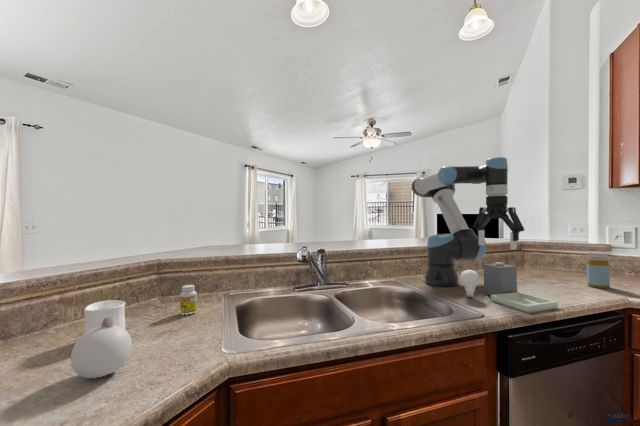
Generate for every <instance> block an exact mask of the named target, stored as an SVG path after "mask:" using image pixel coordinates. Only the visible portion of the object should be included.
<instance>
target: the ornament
mask: <svg viewBox="0 0 640 426" xmlns="http://www.w3.org/2000/svg"><path fill="white" fill-rule="evenodd" d="M132 343H133V341H132V338H131V335H130V333H129V331H128V330H126V328H125V329H124V328H122V327H120V326H116V325H112V321H111V318H110V317H106V318H104V319H103V322H102V326H99V327H96V328H94V329H91V330H90V331H88V332H86V333H85V334H84V333H83V335H81V336H80V337H79V338H78V339H77V341H76V342H75V344H74V346H73V348H72V350H71V354H70V364H71V367H72V369H73V371H74V372H75V374H77V375H79V376H80V377H82V378H85V379H91V378H94V379H96V378H95V377H100V376H104V375H107V374H109V373H112V372H113V373H115V372H116V370H117V371H118V370H119V369H121V368H122V367H123V365H125V363H126V362H127V360H128V359H129V358H130V354H131V351H132V346H133V344H132ZM114 371H115V372H114ZM113 373H112V374H113ZM107 376H108V375H107ZM104 377H105V376H104Z"/></svg>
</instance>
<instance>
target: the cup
mask: <svg viewBox="0 0 640 426" xmlns="http://www.w3.org/2000/svg"><path fill="white" fill-rule="evenodd" d="M125 310H126V302H125V301H124V300H120V299H107V300H102V301H101V300H100V301H97V302H93V303H91V304H89V305H87V306H86V307H85V308H84V309H83V311H84V320H85V321H84V329H83V335H84V334H85V333H86V332H88V331H90V330H91V329H94V328H96V327H99V326H102V322H103V319H104V318H106V317H110V318H111V321H112V325H116V326H120V327H122V328H124V329H125V330H126V316H125Z"/></svg>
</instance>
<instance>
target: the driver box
mask: <svg viewBox="0 0 640 426" xmlns="http://www.w3.org/2000/svg"><path fill="white" fill-rule="evenodd" d="M482 265H483V267H482V268H483V292H484V293H483V294H485V295H489V296H491V295H496V294H505V293H513V292H518V277H517V276H518V275H517V273H518V272H517V266H516V265H512V264H506V263H505V262H502V261H501V262H500V261H498V262H497V261H496V262H494V263H484V264H482Z"/></svg>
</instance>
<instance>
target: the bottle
mask: <svg viewBox="0 0 640 426" xmlns="http://www.w3.org/2000/svg"><path fill="white" fill-rule="evenodd" d="M586 277H587V279H586V280H587V286H589V287H592V288H597V289H609V288H610V287H611V285H610V284H611V283H610V282H611V281H610V280H611V279H610V264H609V260H608V252H603V251H587V260H586Z"/></svg>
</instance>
